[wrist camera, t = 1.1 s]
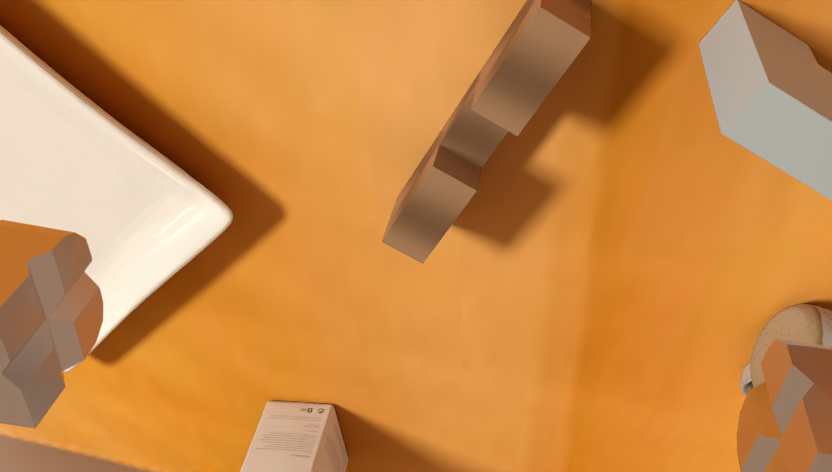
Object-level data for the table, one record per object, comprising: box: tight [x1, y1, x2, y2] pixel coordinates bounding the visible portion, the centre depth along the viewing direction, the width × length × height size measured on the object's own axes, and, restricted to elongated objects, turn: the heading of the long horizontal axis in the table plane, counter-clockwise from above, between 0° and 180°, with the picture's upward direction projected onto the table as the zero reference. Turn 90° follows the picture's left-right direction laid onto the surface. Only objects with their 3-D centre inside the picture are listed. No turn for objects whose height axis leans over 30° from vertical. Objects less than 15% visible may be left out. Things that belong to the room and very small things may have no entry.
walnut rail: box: [382, 0, 591, 264], centre depth 46 cm, size 18×3×5 cm, turn 152°
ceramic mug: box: [741, 304, 832, 396], centre depth 52 cm, size 11×8×8 cm
